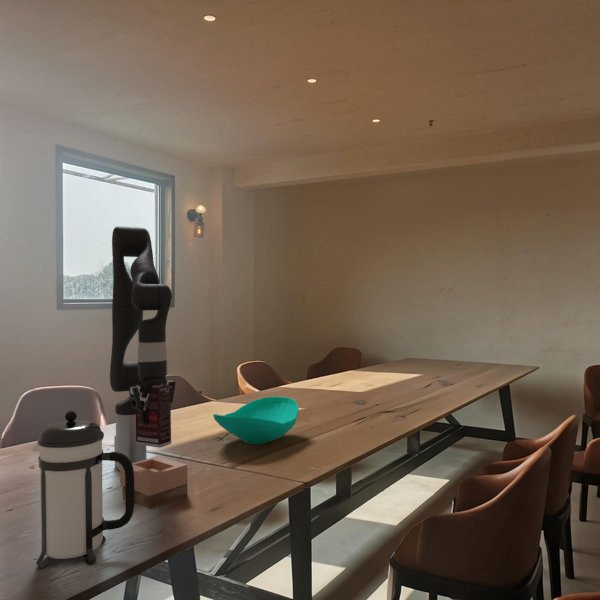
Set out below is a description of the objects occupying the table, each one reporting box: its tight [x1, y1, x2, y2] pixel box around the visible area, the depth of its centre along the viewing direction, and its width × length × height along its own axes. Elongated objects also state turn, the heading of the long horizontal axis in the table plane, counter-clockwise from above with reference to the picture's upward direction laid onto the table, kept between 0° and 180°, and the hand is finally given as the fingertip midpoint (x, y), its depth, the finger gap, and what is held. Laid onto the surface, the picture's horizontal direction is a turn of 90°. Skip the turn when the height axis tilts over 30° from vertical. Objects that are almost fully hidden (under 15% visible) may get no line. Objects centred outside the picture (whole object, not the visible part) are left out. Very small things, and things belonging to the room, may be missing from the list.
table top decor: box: [212, 396, 300, 445], centre depth 206 cm, size 40×28×13 cm
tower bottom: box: [122, 483, 188, 510], centre depth 150 cm, size 12×12×4 cm
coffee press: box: [31, 410, 135, 569], centre depth 118 cm, size 17×16×30 cm
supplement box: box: [136, 385, 172, 448], centre depth 150 cm, size 9×5×16 cm, turn 62°
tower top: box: [119, 455, 189, 496], centre depth 150 cm, size 13×12×5 cm
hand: (153, 422), depth 150 cm, fingers closed on supplement box, 5 cm apart
